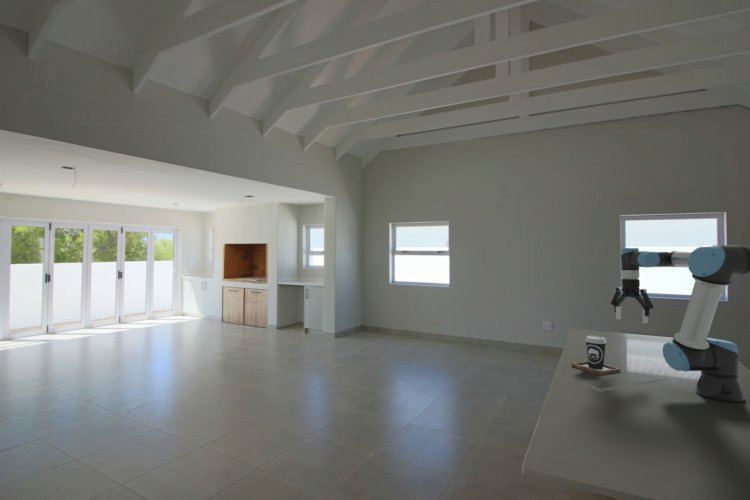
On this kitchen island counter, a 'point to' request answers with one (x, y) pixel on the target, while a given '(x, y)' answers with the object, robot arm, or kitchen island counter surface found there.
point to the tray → (612, 370)
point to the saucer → (597, 369)
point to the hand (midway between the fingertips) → (631, 321)
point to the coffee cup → (595, 351)
